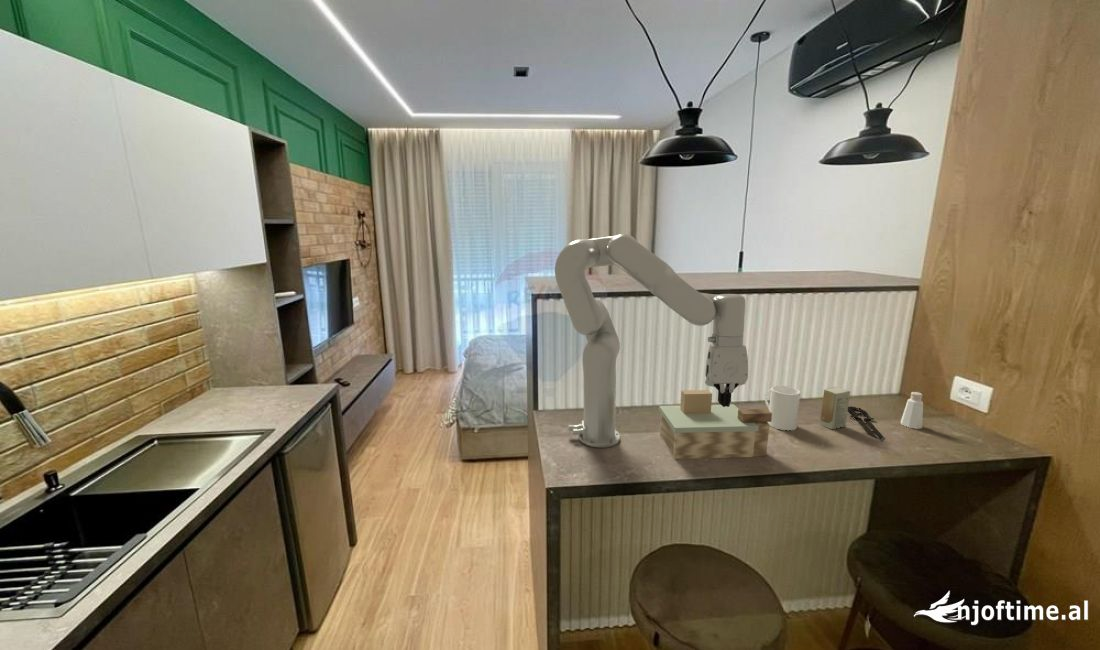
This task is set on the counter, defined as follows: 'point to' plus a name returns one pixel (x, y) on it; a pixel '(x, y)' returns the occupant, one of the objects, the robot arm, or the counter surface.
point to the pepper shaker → (913, 412)
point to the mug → (783, 407)
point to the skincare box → (834, 407)
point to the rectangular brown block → (754, 415)
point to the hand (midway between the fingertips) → (724, 404)
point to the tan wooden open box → (715, 442)
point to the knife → (866, 422)
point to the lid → (703, 415)
